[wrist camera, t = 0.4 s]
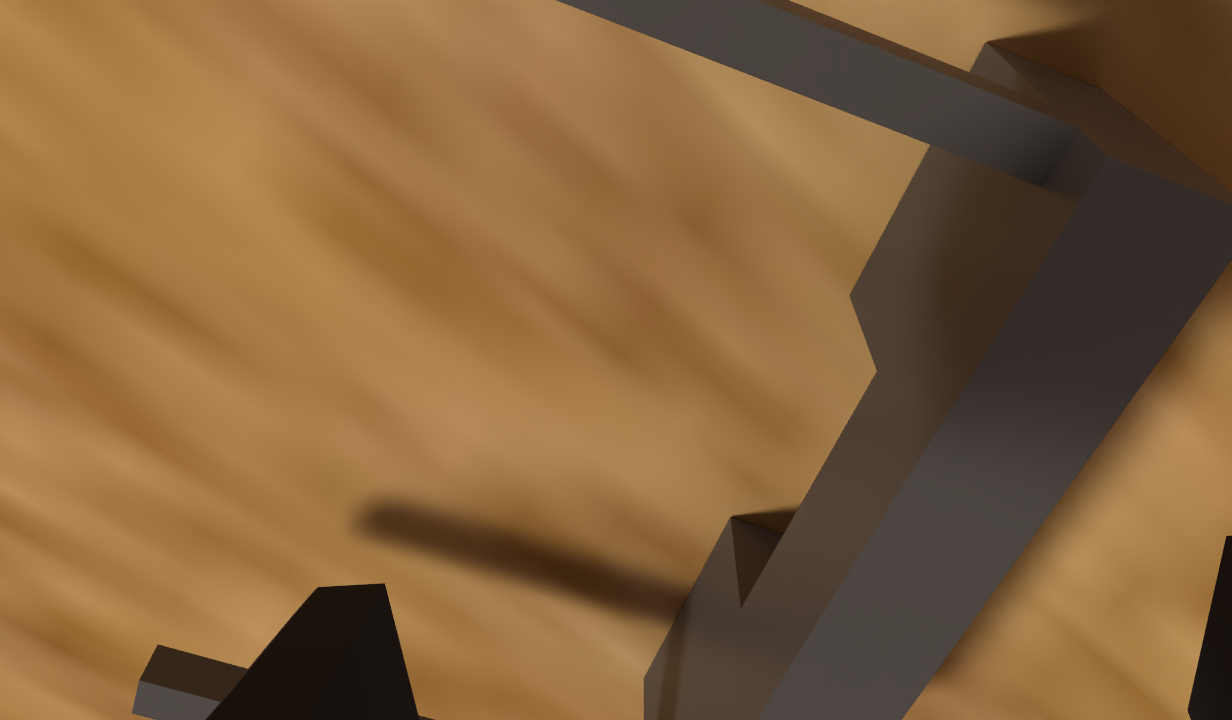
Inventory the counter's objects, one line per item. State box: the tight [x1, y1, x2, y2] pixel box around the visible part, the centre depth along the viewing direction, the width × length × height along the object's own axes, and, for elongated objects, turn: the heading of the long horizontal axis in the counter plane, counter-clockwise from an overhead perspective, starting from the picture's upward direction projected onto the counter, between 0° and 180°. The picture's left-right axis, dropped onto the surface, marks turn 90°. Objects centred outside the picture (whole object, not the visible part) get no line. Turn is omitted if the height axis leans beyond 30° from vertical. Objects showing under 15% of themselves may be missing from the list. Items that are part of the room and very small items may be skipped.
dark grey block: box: [132, 0, 1232, 720], centre depth 17 cm, size 11×14×5 cm
